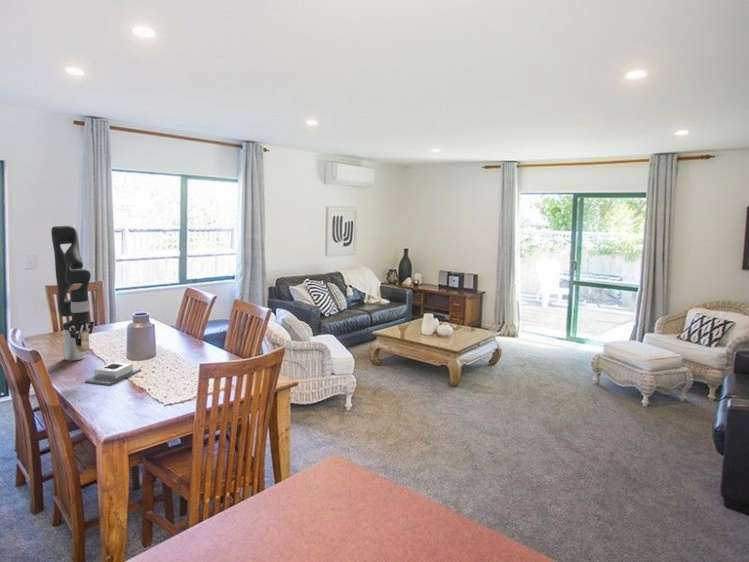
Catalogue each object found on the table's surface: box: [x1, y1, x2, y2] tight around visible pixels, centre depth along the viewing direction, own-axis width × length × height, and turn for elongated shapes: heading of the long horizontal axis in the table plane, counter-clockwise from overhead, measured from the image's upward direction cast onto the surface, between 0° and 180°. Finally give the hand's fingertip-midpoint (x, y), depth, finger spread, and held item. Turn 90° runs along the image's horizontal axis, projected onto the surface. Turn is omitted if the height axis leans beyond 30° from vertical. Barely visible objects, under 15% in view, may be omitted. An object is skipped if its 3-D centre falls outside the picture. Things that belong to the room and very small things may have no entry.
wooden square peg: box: [76, 330, 90, 353], centre depth 241 cm, size 4×4×10 cm
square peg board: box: [84, 361, 142, 386], centre depth 248 cm, size 14×22×5 cm, turn 168°
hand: (82, 344), depth 241 cm, fingers closed on wooden square peg, 4 cm apart
